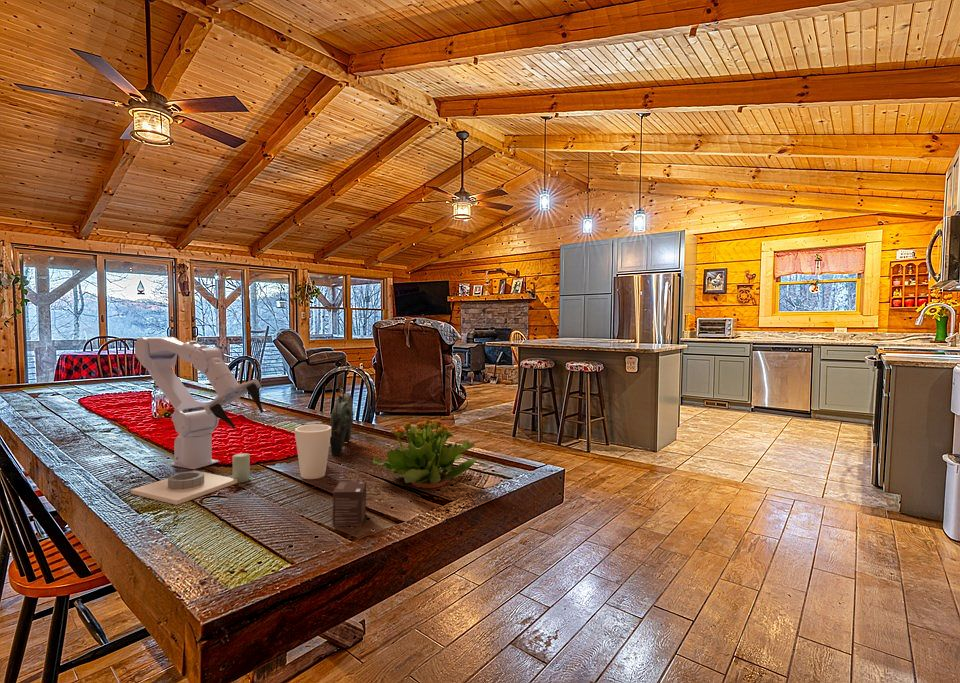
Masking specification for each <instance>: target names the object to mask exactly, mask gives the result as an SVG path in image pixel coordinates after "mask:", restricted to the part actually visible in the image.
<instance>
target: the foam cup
mask: <svg viewBox="0 0 960 683" xmlns="http://www.w3.org/2000/svg"><path fill="white" fill-rule="evenodd" d="M322 424H323V423H322ZM322 424H312V425H304V424H303V425H299V426H297V427H295V428H294V439H295V442H296V451H297V458H298V465H299V473H300V478H301V477H302V479H306V480H314V479H320V478H323V477H325V476H326V470H327V465H328V464H327V463H328V456H329V450H330V445H331V444H330V437H331V426H330V425H328V424H323V425H322Z"/></svg>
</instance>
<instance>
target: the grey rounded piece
mask: <svg viewBox="0 0 960 683" xmlns="http://www.w3.org/2000/svg"><path fill="white" fill-rule="evenodd" d="M250 456H251V455H250V453H243V452H242V453H237V454H234V455H232V478H235V479H237V483H236V484H238V483H239V484H240V483H245V482H248V481H250V479H251V478H250V475H251V474H250V472H251V469H250V467H251V464H250V460H251V457H250Z"/></svg>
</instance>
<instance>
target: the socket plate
mask: <svg viewBox="0 0 960 683" xmlns="http://www.w3.org/2000/svg"><path fill="white" fill-rule="evenodd" d="M235 484H238V483H237V479H235V478H233V477H229V476H225V475H220V474H214V473H209V472H205V471H199V470H196V469H193V470H190V471H188V470H187V471H183V472H178V473H175V474H171V475H170V476H168V477H167V478H165V479H162V480H158V481H154V482H151V483H148V484H145V485H141V486H139V487H136V488H131V489H130V494H131V495H136V496H139V497H144V498H148V499H152V500H156V501H159V502H163V503H168V504H172V505H175V506H177V505H180V504H183V503H185V502H188V501H191V500H194V499H196V498H200V497H202V496H203V497H204V496H205V495H208V494H211V493H213V492H216V491H219V490H222V489H224V488H228V487H230V486H233V485H235Z"/></svg>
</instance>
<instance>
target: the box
mask: <svg viewBox="0 0 960 683" xmlns="http://www.w3.org/2000/svg"><path fill="white" fill-rule="evenodd" d="M332 494H333V495H332V496H333V497H332V526H333V527H341V526H362V525H363V522H364V519H365V517H366V512H367V510H366V509H367V482H366V481H339V482H338V483H337V484H336V487H335V488H334V489H333V491H332Z"/></svg>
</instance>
